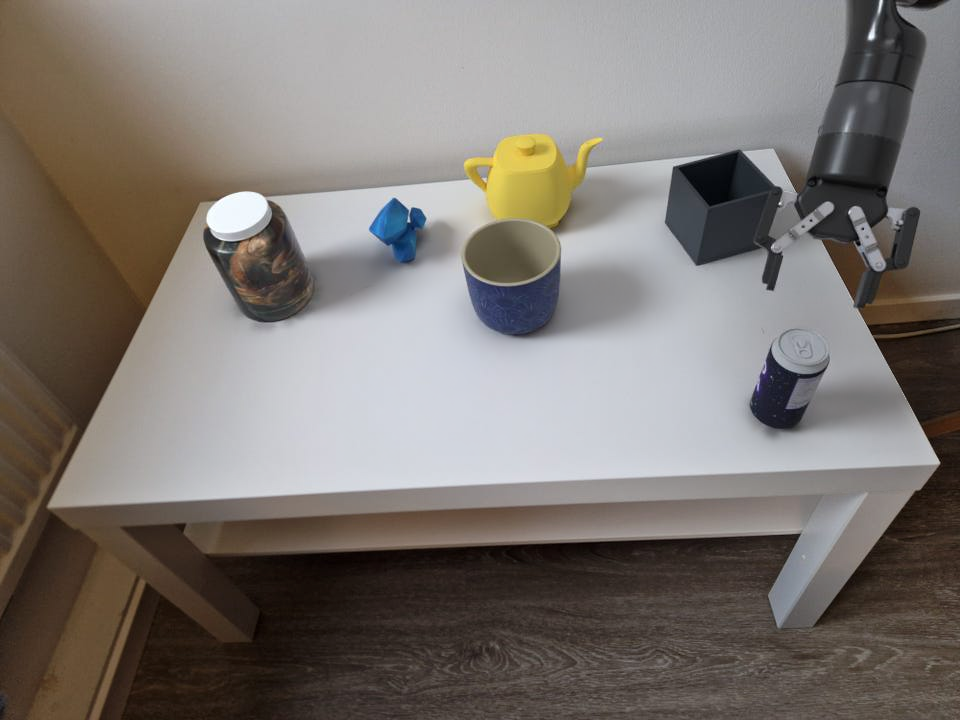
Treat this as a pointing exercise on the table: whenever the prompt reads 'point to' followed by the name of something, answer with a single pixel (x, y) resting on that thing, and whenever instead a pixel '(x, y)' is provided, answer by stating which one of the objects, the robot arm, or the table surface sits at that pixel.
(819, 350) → the beverage can
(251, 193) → the jar
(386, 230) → the crystal
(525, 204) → the teapot
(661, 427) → the table surface
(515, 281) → the planter
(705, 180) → the trash bin
